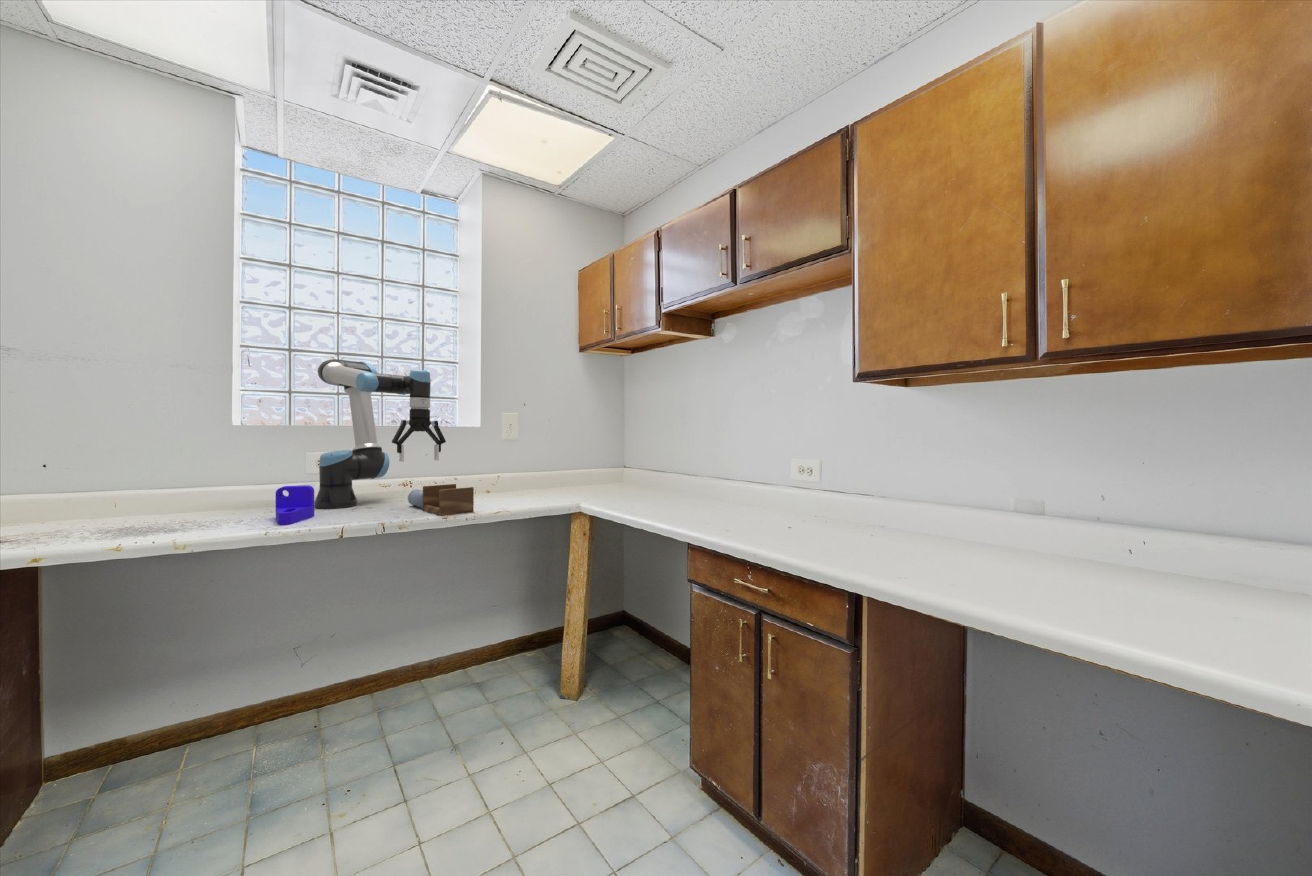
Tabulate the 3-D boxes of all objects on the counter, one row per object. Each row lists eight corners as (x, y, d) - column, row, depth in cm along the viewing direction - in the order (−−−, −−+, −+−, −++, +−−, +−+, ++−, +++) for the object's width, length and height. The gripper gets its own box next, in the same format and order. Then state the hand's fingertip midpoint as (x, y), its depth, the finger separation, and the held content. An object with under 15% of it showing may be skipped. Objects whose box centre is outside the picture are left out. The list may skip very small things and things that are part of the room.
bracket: (279, 517, 183) (279, 486, 183) (314, 515, 187) (314, 485, 187) (264, 526, 166) (264, 492, 166) (303, 524, 171) (303, 490, 171)
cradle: (422, 510, 201) (422, 486, 201) (454, 507, 211) (454, 483, 211) (440, 516, 190) (440, 490, 190) (473, 511, 200) (473, 487, 200)
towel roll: (407, 506, 212) (407, 490, 212) (424, 504, 217) (424, 488, 217) (419, 509, 204) (419, 493, 203) (436, 508, 209) (436, 491, 209)
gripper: (389, 407, 188) (389, 462, 189) (454, 409, 206) (453, 460, 207) (383, 407, 193) (382, 461, 194) (446, 409, 211) (446, 459, 212)
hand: (419, 460), depth 200 cm, fingers open, 13 cm apart
